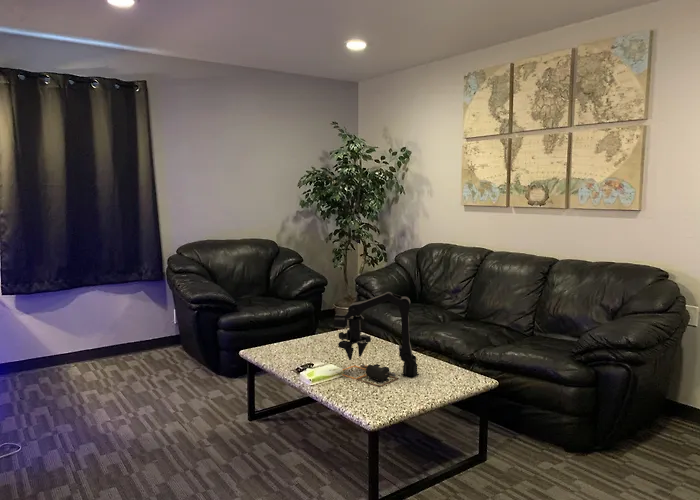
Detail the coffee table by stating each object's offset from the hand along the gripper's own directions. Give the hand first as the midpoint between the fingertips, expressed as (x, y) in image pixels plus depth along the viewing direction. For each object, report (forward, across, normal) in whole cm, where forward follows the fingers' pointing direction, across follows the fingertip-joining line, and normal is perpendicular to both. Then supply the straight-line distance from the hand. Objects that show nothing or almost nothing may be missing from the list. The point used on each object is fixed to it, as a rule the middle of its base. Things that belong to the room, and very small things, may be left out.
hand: (355, 358), depth 265 cm
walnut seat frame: (+8, 0, +15) cm, 17 cm away
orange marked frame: (+8, 0, 0) cm, 8 cm away
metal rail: (+8, -9, +7) cm, 14 cm away
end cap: (+8, 0, +15) cm, 17 cm away
